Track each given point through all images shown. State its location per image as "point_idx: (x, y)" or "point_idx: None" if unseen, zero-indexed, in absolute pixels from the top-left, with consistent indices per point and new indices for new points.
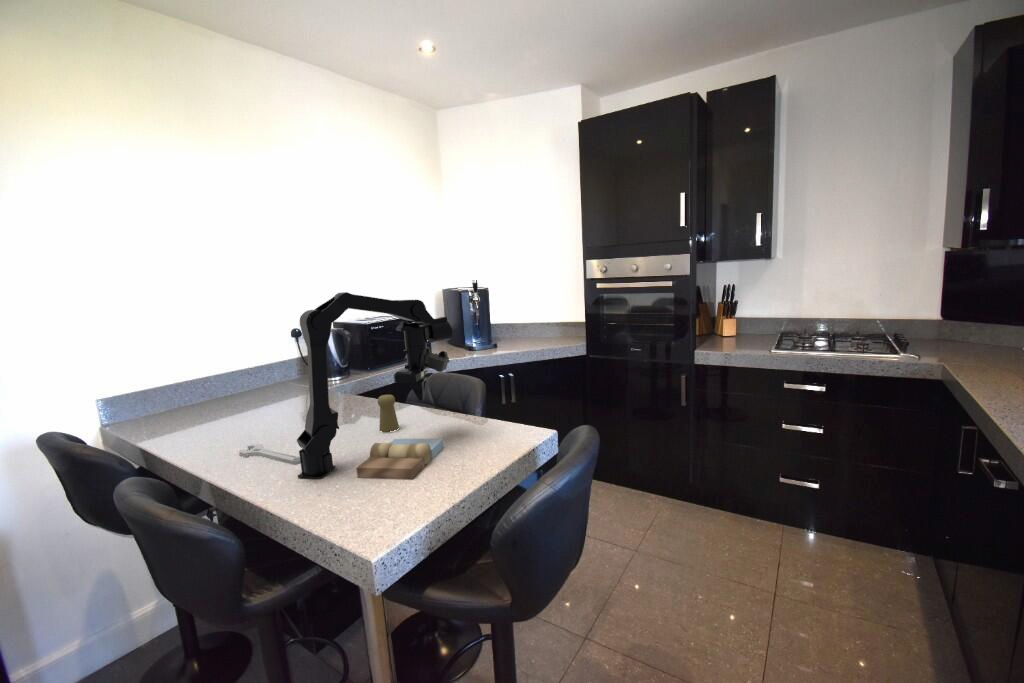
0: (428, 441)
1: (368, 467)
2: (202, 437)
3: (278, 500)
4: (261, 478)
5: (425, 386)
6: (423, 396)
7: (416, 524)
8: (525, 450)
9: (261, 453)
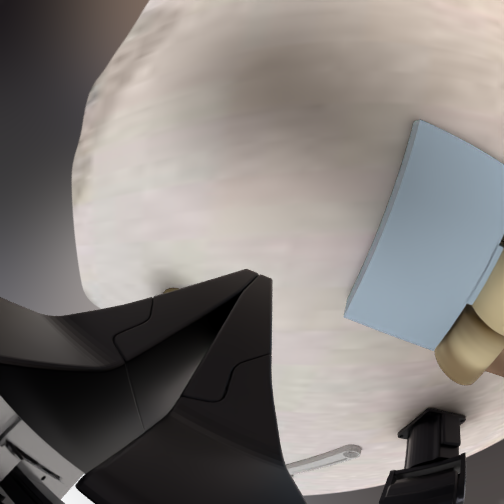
0: (435, 186)
1: None
2: None
3: (497, 434)
4: (396, 466)
5: (158, 315)
6: (250, 286)
7: None
8: None
9: (296, 473)
